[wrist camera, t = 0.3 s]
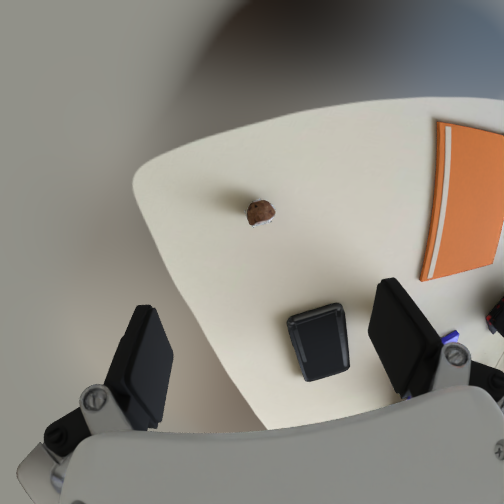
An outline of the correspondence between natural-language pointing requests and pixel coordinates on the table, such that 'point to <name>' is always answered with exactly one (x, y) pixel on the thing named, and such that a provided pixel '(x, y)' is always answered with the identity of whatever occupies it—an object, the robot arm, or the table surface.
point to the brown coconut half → (260, 212)
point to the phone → (320, 341)
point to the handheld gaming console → (497, 318)
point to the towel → (465, 201)
